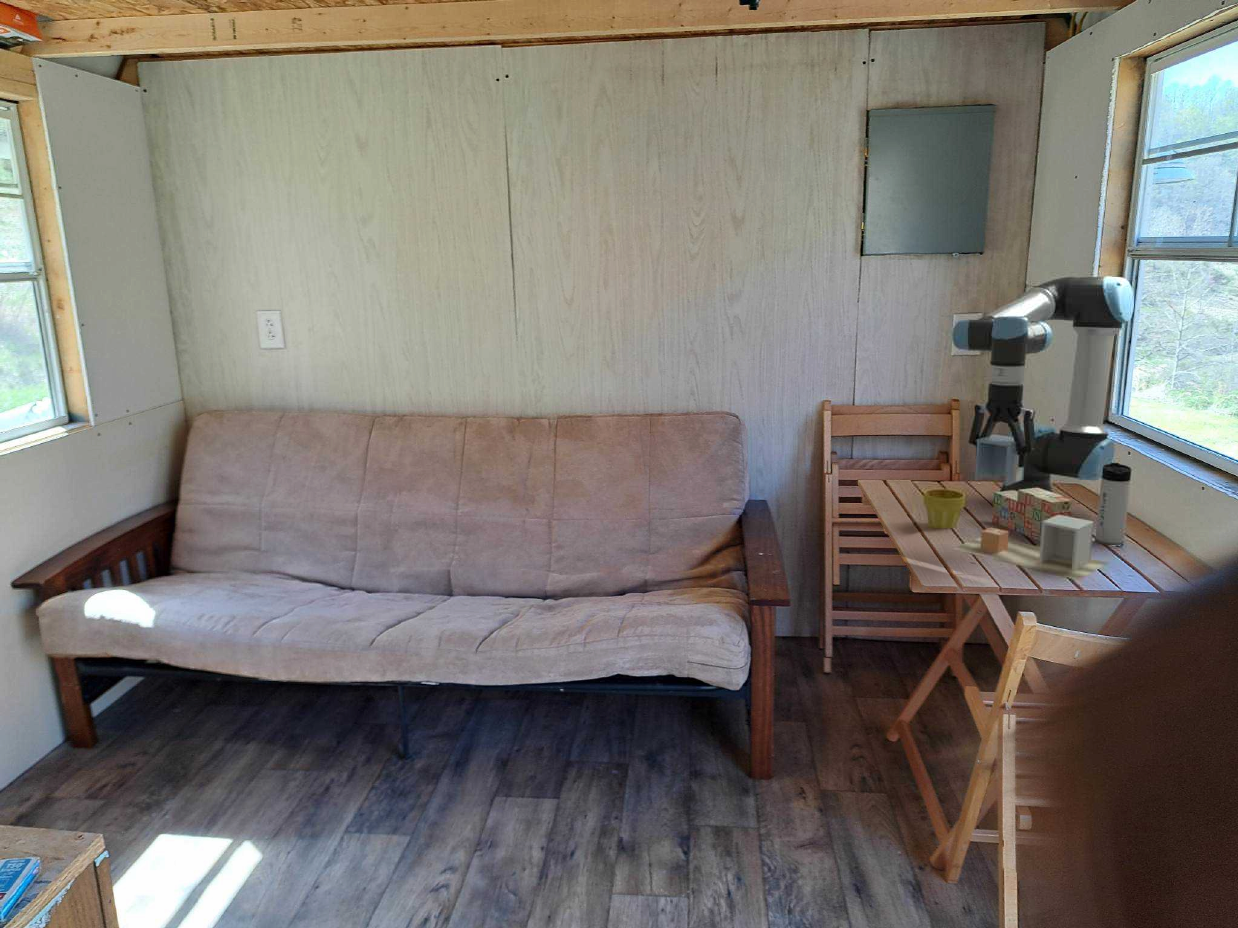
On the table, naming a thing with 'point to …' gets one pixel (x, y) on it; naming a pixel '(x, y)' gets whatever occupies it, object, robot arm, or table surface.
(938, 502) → the plant pot
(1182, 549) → the table surface
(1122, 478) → the travel mug
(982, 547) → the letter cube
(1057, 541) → the box
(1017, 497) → the stack of blocks
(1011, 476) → the hollow pale blue box
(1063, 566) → the birch board
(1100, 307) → the robot arm
